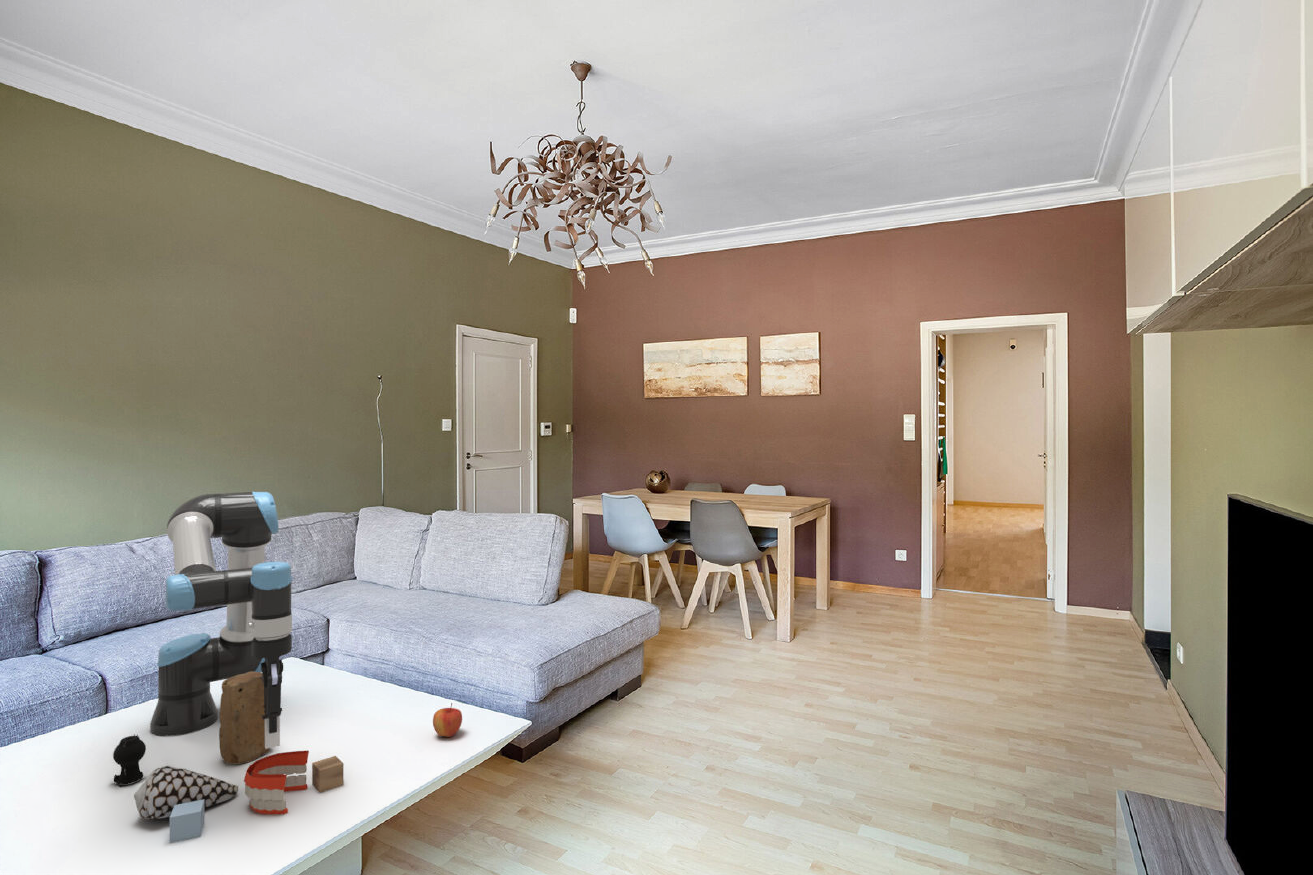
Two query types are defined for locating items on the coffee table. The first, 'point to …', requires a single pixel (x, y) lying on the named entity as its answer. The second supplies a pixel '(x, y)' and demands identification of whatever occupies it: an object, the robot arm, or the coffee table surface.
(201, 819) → the slate block
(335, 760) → the walnut block
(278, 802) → the toy
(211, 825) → the coffee table surface
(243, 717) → the brown rock
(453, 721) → the apple
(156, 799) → the seashell
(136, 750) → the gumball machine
